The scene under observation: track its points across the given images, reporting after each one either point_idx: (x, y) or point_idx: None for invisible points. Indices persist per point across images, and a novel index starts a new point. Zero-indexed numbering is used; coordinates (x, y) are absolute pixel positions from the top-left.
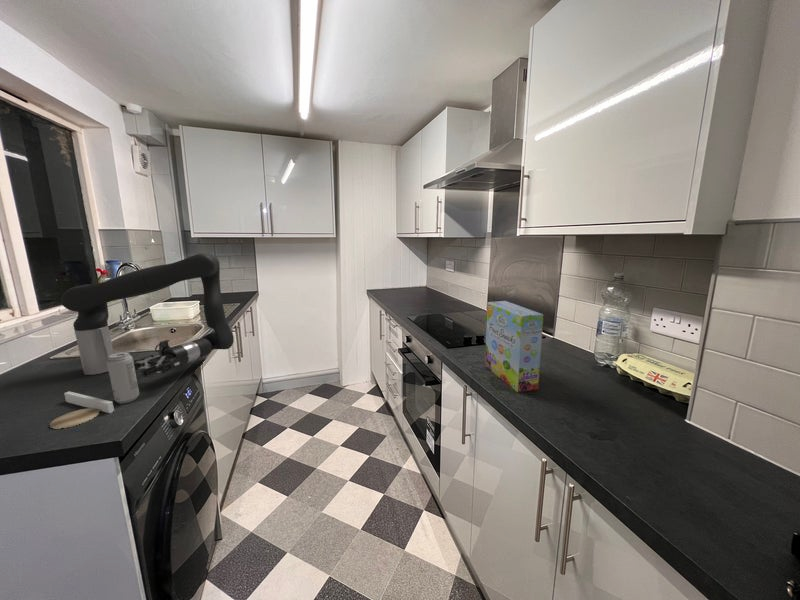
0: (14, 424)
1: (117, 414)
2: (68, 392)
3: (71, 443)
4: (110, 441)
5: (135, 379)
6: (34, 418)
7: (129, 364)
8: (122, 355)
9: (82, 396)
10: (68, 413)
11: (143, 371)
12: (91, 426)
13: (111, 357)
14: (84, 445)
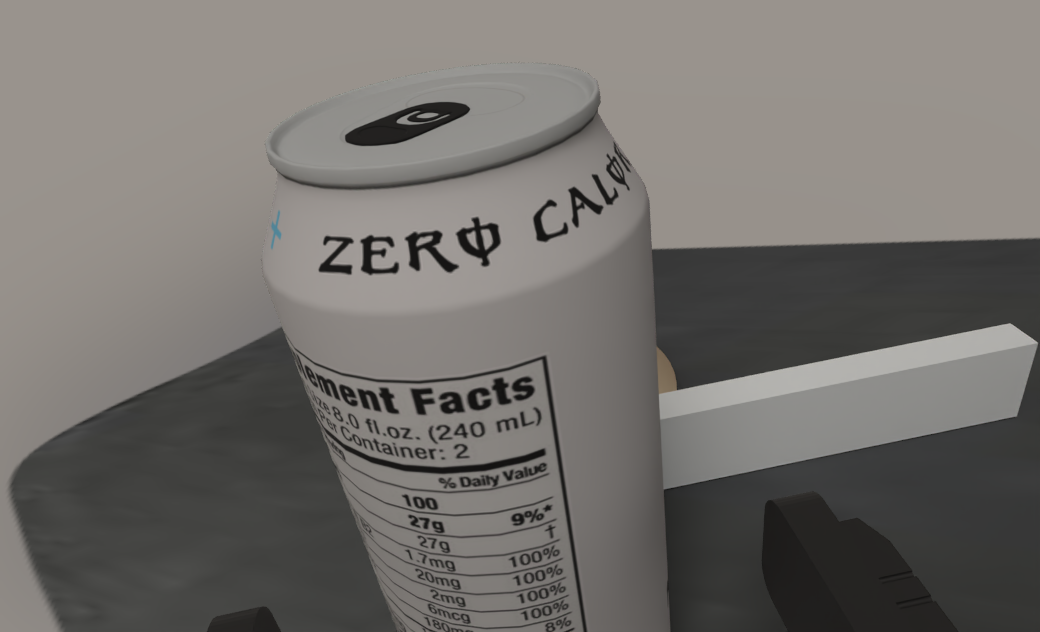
0: (778, 258)
1: (315, 542)
2: (1003, 339)
3: (254, 359)
4: (43, 444)
5: (402, 617)
6: (788, 296)
7: (289, 344)
8: (318, 130)
9: (772, 380)
10: (666, 374)
11: (224, 627)
12: None
13: (420, 83)
14: (165, 382)
